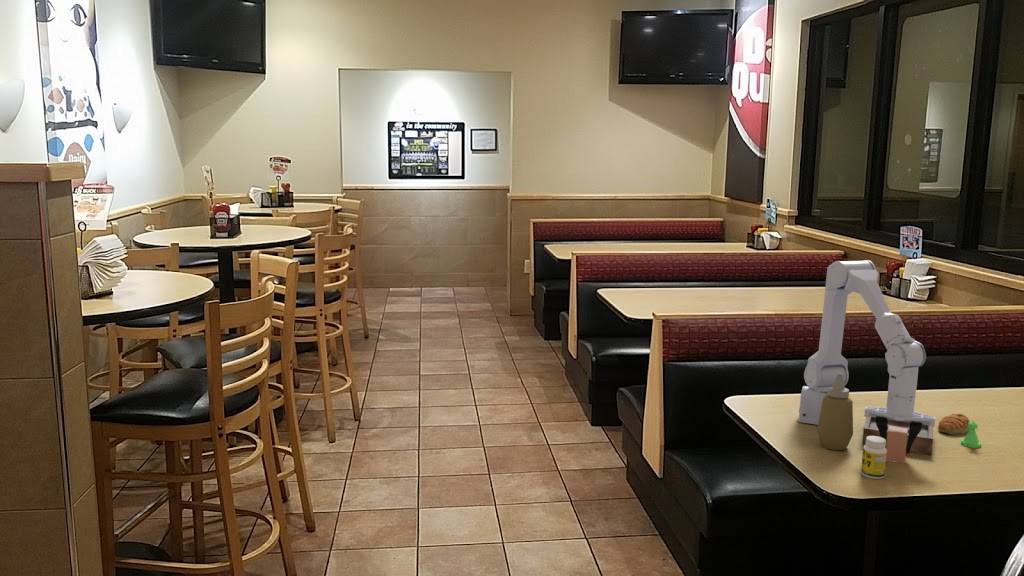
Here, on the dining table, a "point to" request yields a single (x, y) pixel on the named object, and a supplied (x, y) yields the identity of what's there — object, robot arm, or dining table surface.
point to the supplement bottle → (874, 457)
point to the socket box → (920, 443)
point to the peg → (896, 444)
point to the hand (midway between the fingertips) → (895, 450)
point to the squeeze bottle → (836, 417)
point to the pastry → (954, 424)
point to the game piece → (971, 436)
